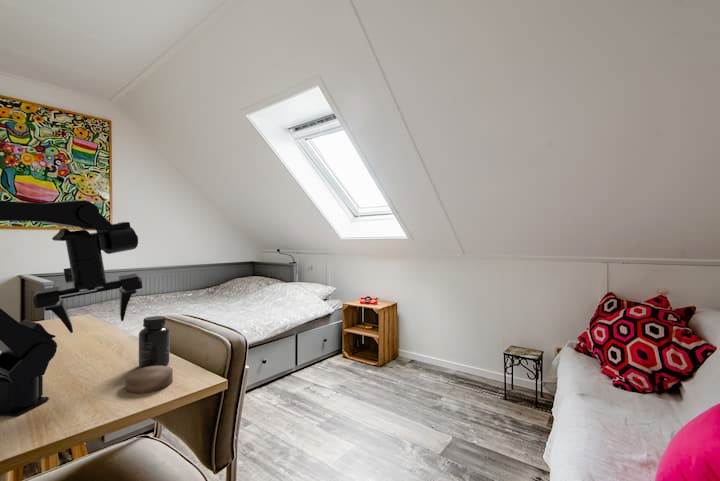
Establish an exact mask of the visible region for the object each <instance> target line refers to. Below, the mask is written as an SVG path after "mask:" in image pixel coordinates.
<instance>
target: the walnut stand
mask: <svg viewBox="0 0 720 481" xmlns="http://www.w3.org/2000/svg"><path fill="white" fill-rule="evenodd" d="M173 374H174V372H173V368H172V367H171V366H168V365H166V366H149V367H144V368H140V367H139V368H136V369H134V370H132V371H131V372H128V373H127V374H126V375H125V384H124V385H125V391H126V392H127V393H130V394H148V393H153V392H157V391H161V390H163V389H165V388H168V387H169V386H170V385H171V384H173V379H174V375H173Z"/></svg>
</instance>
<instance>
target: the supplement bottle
mask: <svg viewBox="0 0 720 481" xmlns="http://www.w3.org/2000/svg"><path fill="white" fill-rule="evenodd" d="M142 320H143V321H142V322H143V324H142V326H143V327H144V328H142V329H141V330H140V331H139V333H138V367H139V369H140V368H144V367H149V366H168V364H169V363H170V355H171V353H170V345H171V344H170V342H171V340H170V335H171V334H170V329H169V328H168V327H167V326H165V325H166V317H165V316H162V315H156V316H149V317H145V318H143V319H142Z"/></svg>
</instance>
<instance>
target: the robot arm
mask: <svg viewBox="0 0 720 481" xmlns="http://www.w3.org/2000/svg"><path fill="white" fill-rule="evenodd" d="M0 221H6V222H8V221H9V222H39V223H43V224H48V225H54V226H60V227H65V228H60V229H59V231H58V232H57V233H56V234H55V235H54V236H53V237H52V238H51V239H52V241H55V242H57V241H58V242H65V244H66V251H67V254H68V255H67V256H68V260H69V261H68V262H69V266H70V267H68V268H63V274H64V280H65V283H66V284H72V283H73V287H71V288H66V289H60V287H59V286H53V287H48V288H47V287H46V288H41V289H37V290H36V291H35V292H34V295H33V298H32V299H33V305H34V309H41V308H44V311H45V312H47V311H48V312H49V311H52V313H54V315H56V316H57V318H59V319H60V321H61V322H62V323H63V325H64V326H65V327H66V328H67V330H68V331H69V333H70V334H72V333H74V330H73V324H72V321H71V318H70V315H69V313H68V311H67V307H66V304H65V301H64V299H68V298H73V297H80V296H84V295H89V294H96V293H103V292H106V291H111V290H117V289H118V293H119V317H120V321H121V322H123V321H125V320H124V319H125V316H126V311H127V308H128V305H129V302H130V299H131V297H132V295H133V294H137V290H140V289H143V282H142V278H141V276H140V275H138V274H137V273H131V274H124V275H119V276H118V280H117V279H116V280H112V281H107V278H106V271H105V267H104V259H103V255H102V251H103V253H105V254H108V255H110V254H115V253H116V254H117V253H121V252H126V251H132V250H135V249H137V247H138V244H139V236H138V235H137V233H136V231H135V230H134V228H132V226H131V222H129V221H121V222H118V223H111V222H110V221H109V220H108V219H107V218H106V217H104V215H102V213H100V210H99V208H98V206H97V205H96V204H95V203H94V202H93V201H90V200H84V199H82V200H64V201H53V202H28V201H27V202H26V201H10V200H9V201H8V200H0ZM68 228H80V230H69V229H68ZM88 230H89V231H96V232H93V233H92V232H89V231H88ZM56 336H57V335H54V334H51V333H49V332H48V331H47V330H46V329H45V328H44V326H43V325H42V324H41V323H40V322H35V321H31V320H27V319H23V320H22V321H21V322H18V321H17V320H16V319H14V318H13V317H12V316H11V315H9V314H8V313H7V312H6V311H5V310H3V309H2V308H1V307H0V416H20V415H21V414H24V413H26V412H28V411H30V410H32V409H33V408H35V407H38V406H39V405H41V404H43V403H46V402H47V401H49V400H50V397H49V396H43V395H44V393H43V391H44V390H43V388H44V387H43V382H44V381H43V380H44V379H43V377H44V375H45V373H46V371H47V368H48V366H49V363H50V362H51V361H52V359H53V358H54V357H55V356H56V352H57V348H58V343H57V342H56V340H54V338H56Z"/></svg>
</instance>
